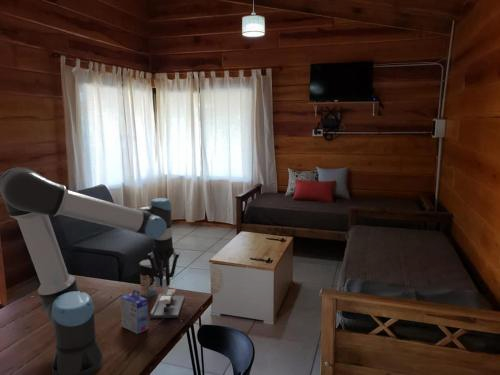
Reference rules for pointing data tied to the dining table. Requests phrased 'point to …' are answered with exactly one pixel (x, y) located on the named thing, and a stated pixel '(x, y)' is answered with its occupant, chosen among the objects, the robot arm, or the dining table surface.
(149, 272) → the printed cylindrical canister
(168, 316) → the keypad board
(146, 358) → the dining table surface
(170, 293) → the key grey
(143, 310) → the ink cartridge box
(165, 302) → the key cream
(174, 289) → the key terracotta
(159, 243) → the robot arm
